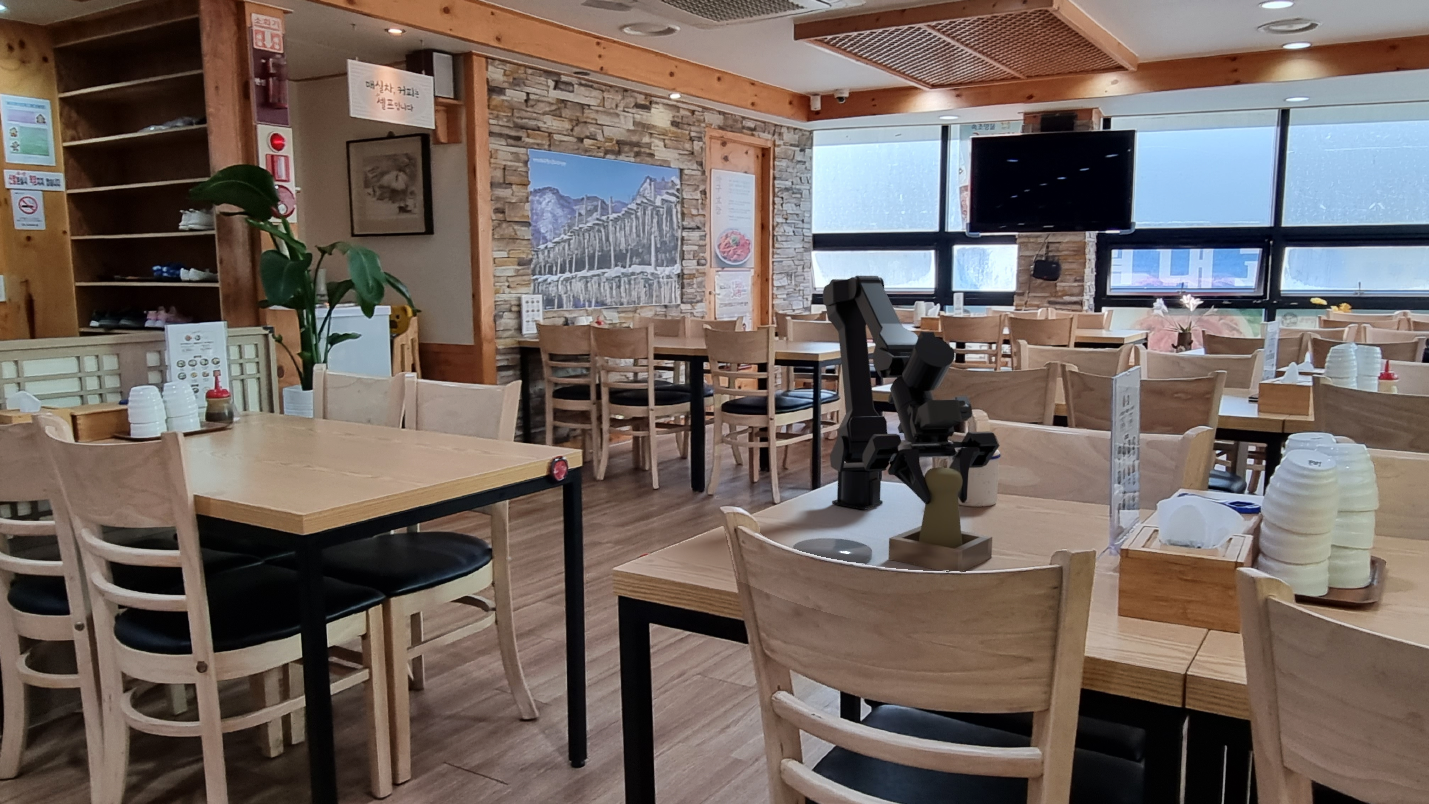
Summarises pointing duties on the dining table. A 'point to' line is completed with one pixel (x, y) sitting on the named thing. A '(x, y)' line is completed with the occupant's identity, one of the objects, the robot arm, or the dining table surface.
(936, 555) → the walnut collar
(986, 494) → the teacup with lid
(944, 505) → the olive game pawn
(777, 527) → the dining table surface
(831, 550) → the slate coaster
